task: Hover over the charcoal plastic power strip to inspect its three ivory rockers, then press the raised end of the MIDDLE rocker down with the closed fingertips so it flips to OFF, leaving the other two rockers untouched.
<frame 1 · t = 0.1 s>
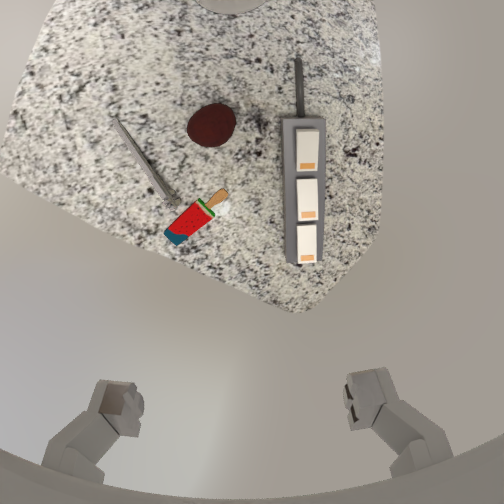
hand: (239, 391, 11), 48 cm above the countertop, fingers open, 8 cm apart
rocker 1: (307, 150, 47), point 6 cm above the countertop, hinge at 12.0°
caliper: (147, 159, 53), on the countertop
power strip: (301, 188, 57), on the countertop
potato: (213, 123, 50), on the countertop
rocker 2: (307, 199, 51), point 6 cm above the countertop, hinge at -12.0°
rocker 3: (306, 243, 56), point 6 cm above the countertop, hinge at -12.0°
popsicle: (197, 213, 59), on the countertop
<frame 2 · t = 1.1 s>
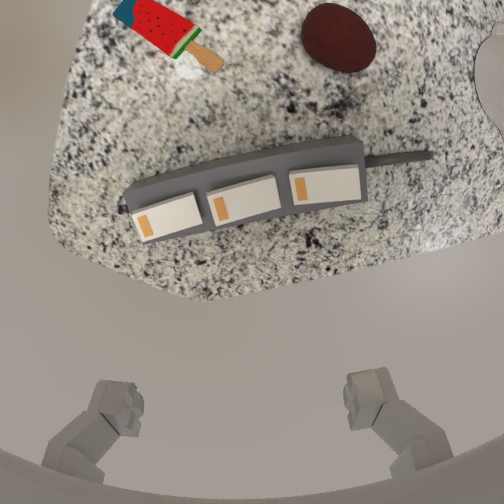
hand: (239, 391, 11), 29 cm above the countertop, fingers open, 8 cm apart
rocker 1: (325, 184, 31), point 6 cm above the countertop, hinge at 12.0°
power strip: (245, 182, 37), on the countertop
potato: (330, 41, 28), on the countertop
rocker 2: (244, 200, 32), point 6 cm above the countertop, hinge at -12.0°
rocker 3: (167, 217, 33), point 6 cm above the countertop, hinge at -12.0°
popsicle: (171, 32, 27), on the countertop
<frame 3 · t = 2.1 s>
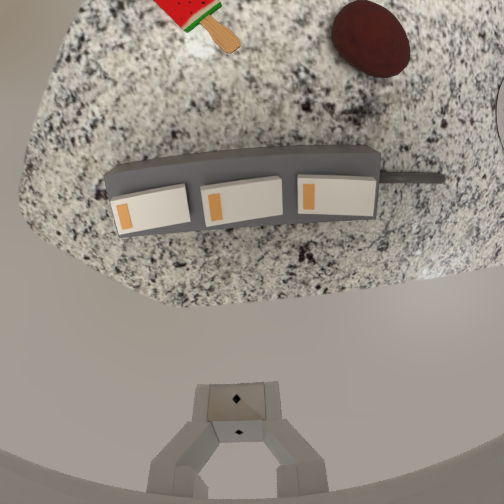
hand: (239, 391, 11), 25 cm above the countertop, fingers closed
rocker 1: (336, 195, 27), point 6 cm above the countertop, hinge at 12.0°
power strip: (242, 180, 32), on the countertop
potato: (359, 42, 25), on the countertop
rocker 2: (242, 200, 27), point 6 cm above the countertop, hinge at -12.0°
rocker 3: (150, 209, 27), point 6 cm above the countertop, hinge at -12.0°
popsicle: (187, 4, 23), on the countertop
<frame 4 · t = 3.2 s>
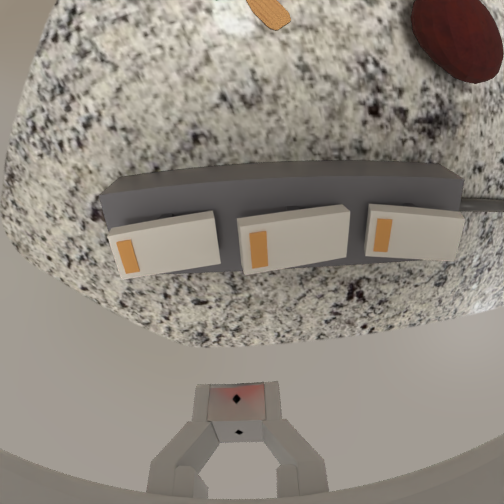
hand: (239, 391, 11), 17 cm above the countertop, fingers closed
rocker 1: (415, 233, 19), point 6 cm above the countertop, hinge at 12.0°
power strip: (287, 203, 25), on the countertop
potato: (436, 33, 17), on the countertop
rocker 2: (295, 239, 20), point 6 cm above the countertop, hinge at -12.0°
rocker 3: (164, 246, 20), point 6 cm above the countertop, hinge at -12.0°
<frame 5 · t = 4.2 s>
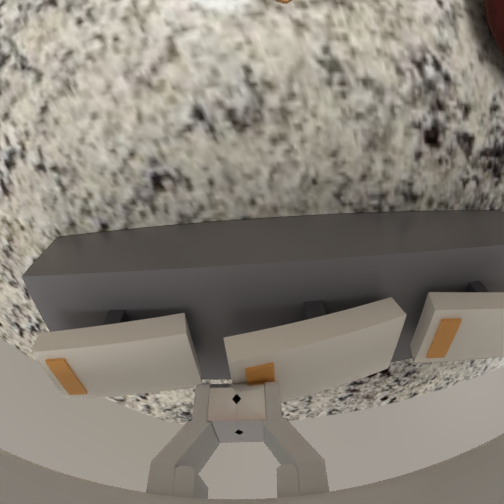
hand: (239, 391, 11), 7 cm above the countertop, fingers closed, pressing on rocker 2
rocker 1: (482, 328, 11), point 6 cm above the countertop, hinge at 12.0°
power strip: (299, 275, 17), on the countertop
rocker 2: (318, 358, 12), point 6 cm above the countertop, hinge at -12.0°, touching gripper
rocker 3: (116, 363, 12), point 6 cm above the countertop, hinge at -12.0°
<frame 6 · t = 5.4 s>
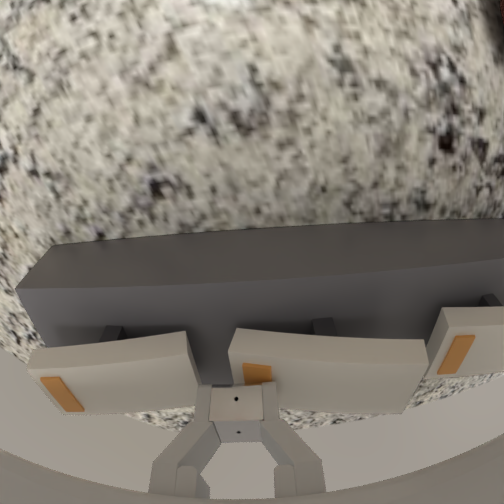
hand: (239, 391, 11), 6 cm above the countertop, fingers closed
rocker 1: (494, 343, 11), point 6 cm above the countertop, hinge at 12.0°
power strip: (306, 287, 16), on the countertop
rocker 2: (326, 379, 11), point 6 cm above the countertop, hinge at 13.3°, touching gripper
rocker 3: (114, 381, 11), point 6 cm above the countertop, hinge at -12.0°
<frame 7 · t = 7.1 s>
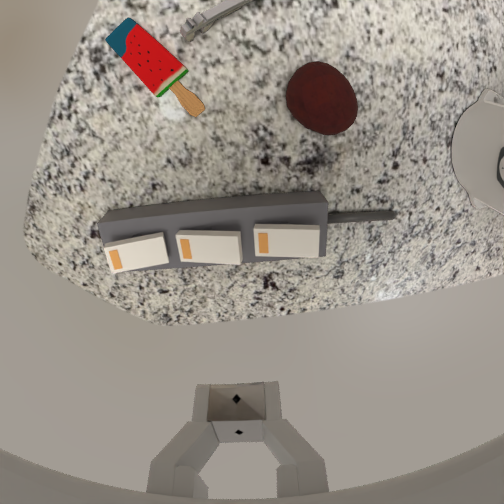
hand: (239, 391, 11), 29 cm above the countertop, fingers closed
rocker 1: (286, 241, 34), point 6 cm above the countertop, hinge at 12.0°
power strip: (212, 224, 39), on the countertop
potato: (314, 97, 32), on the countertop
rocker 2: (209, 247, 34), point 6 cm above the countertop, hinge at 13.7°
rocker 3: (136, 253, 34), point 6 cm above the countertop, hinge at -12.0°
popsicle: (159, 68, 30), on the countertop
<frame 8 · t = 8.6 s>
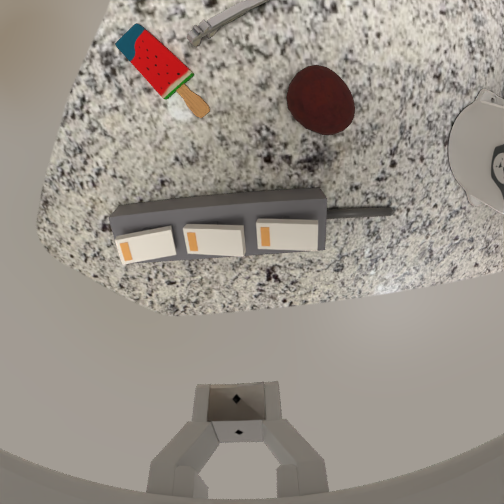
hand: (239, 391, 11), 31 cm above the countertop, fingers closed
rocker 1: (287, 234, 36), point 6 cm above the countertop, hinge at 12.0°
caliper: (266, 1, 27), on the countertop
power strip: (218, 219, 41), on the countertop
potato: (314, 99, 34), on the countertop
rocker 2: (214, 240, 36), point 6 cm above the countertop, hinge at 13.7°
rocker 3: (145, 245, 36), point 6 cm above the countertop, hinge at -12.0°
popsicle: (167, 71, 32), on the countertop
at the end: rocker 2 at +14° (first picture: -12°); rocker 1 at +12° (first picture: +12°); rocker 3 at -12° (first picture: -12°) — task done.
